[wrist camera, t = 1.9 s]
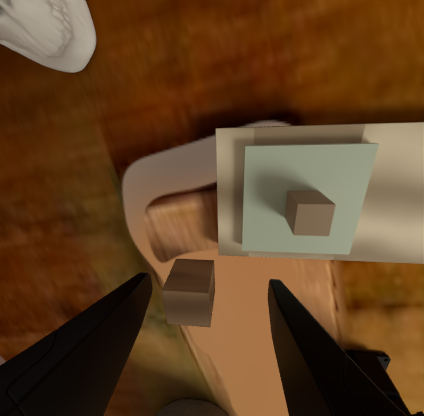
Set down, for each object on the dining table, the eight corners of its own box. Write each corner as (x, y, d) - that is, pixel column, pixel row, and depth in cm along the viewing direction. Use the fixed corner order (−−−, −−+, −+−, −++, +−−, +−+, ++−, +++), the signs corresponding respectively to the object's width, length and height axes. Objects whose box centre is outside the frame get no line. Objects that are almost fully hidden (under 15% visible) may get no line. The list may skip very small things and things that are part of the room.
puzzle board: (443, 252, 20) (463, 265, 18) (220, 244, 23) (218, 255, 21) (506, 119, 15) (542, 118, 14) (218, 128, 18) (215, 128, 16)
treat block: (214, 290, 25) (210, 327, 21) (179, 288, 26) (167, 323, 21) (213, 260, 24) (208, 293, 19) (176, 258, 24) (161, 290, 20)
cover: (344, 249, 19) (369, 278, 15) (241, 245, 20) (242, 272, 16) (372, 142, 15) (412, 148, 12) (244, 145, 16) (246, 151, 13)
